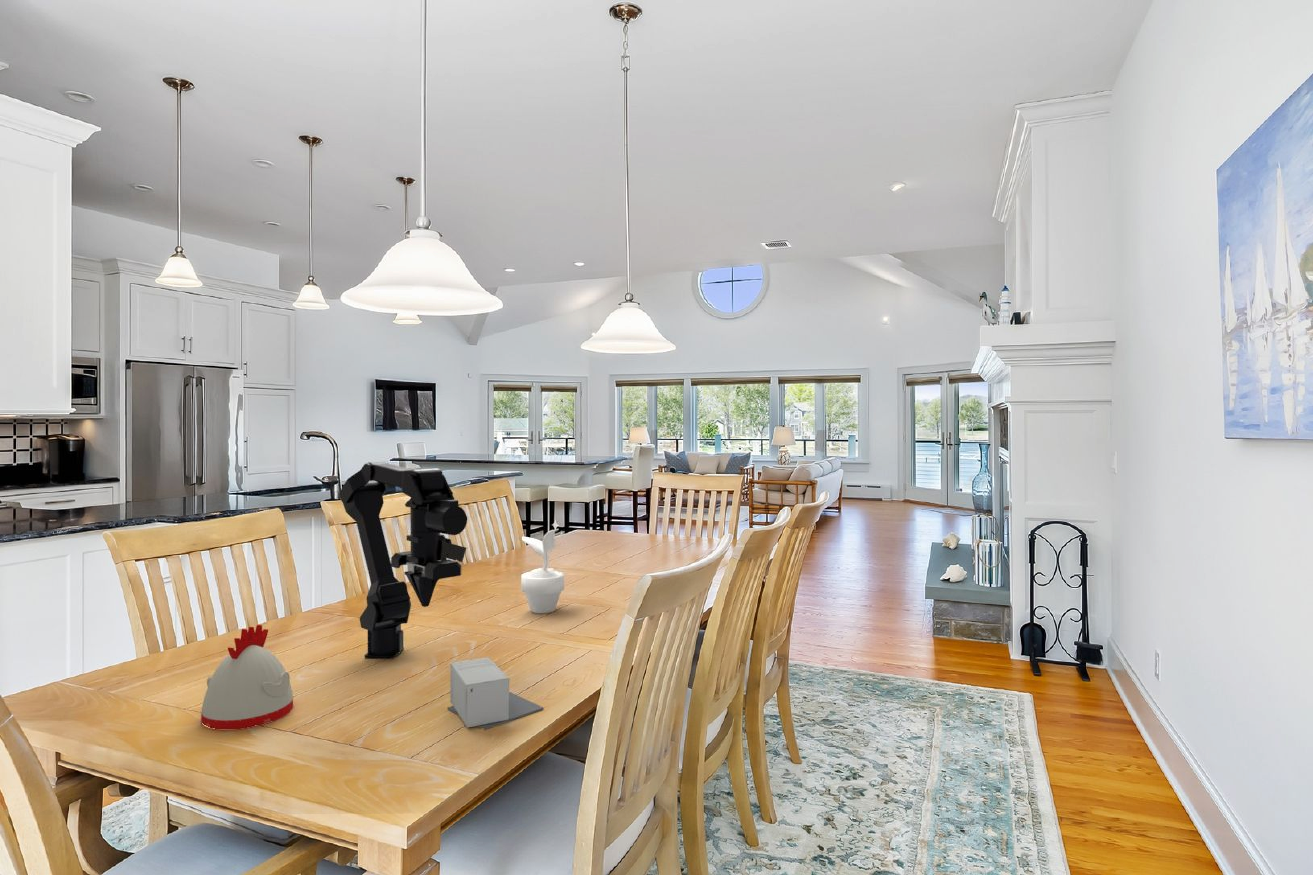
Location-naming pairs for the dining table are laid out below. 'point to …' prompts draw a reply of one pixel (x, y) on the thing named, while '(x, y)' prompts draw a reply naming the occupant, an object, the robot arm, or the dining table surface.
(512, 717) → the mat
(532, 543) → the potted plant
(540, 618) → the dining table surface
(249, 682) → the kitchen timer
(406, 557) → the robot arm
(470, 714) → the supplement box
